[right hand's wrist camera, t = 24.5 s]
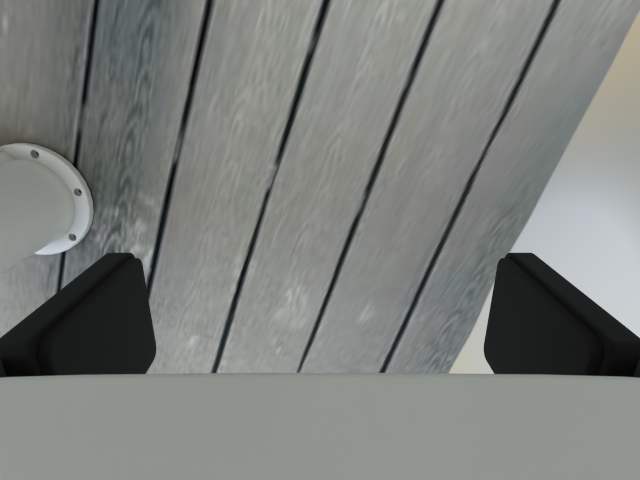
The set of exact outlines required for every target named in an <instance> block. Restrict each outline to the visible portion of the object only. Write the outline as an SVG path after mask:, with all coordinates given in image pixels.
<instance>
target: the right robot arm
mask: <svg viewBox="0 0 640 480" xmlns="http://www.w3.org/2000/svg"><path fill="white" fill-rule="evenodd" d="M38 153H39V154H38ZM80 190H81V191H82V192H81V191H80ZM93 213H94V211H93V201H92V197H91V193H90V190H89V188H88V186H87V184H86V182H85V180H84V179H83V177H82V176H81V174H80V173H79V172H78V170H77V169H76V168H75V167H74V166H73V165H72V164H71V163H70V162H69V161H67V160H66V159H65V158H63V157H62V156H61V155H59V154H57V153H56V152H54V151H52V150H50V149H48V148H45V147H42V146H39V145H35V144H29V143H14V144H8V145H3V146H0V273H2V272H4V271H5V270H7V269H9V268H10V267H12V266H14V265H15V264H17V263H19V262H20V261H22V260H24V259H25V258H27V257H29V256H31V255H32V254H39V255H52V254H57V253H61V252H64V251H66V250H68V249H70V248H72V247H73V246H75V245H76V244H78V243H79V242H80V241H81V240H82V239H83V238H84V237H85V236H86V234H87V233H88V231H89V229H90V226H91V224H92V220H93ZM155 355H156V342H155V336H154V330H153V325H152V319H151V313H150V307H149V301H148V295H147V289H146V283H145V277H144V271H143V265H142V262H141V260H140V259H139V258H135V257H134V255H133V254H132V253H107V254H106V255H104V256H103V257H102V258H100V259H99V260H98V261H97V262H95V263H94V264H93V265H92V266H90V267H89V268H88V269H87V270H85V271H84V272H83V273H82V274H80V275H79V276H78V277H77V278H75V279H74V280H73V281H72V282H70V283H69V284H68V285H67V286H65V287H64V288H63V289H61V290H60V291H59V292H58V293H56V294H55V295H54V296H53V297H51V298H50V299H49V300H48V301H46V302H45V303H44V304H43V305H41V306H40V307H39V308H38V309H36V310H35V311H34V312H33V313H31V314H30V315H29V316H27V317H26V318H25V319H24V320H22V321H21V322H20V323H19V324H17V325H16V326H15V327H14V328H12V329H11V330H10V331H9V332H7V333H6V334H5V335H4V336H2V337H1V338H0V480H640V338H639V337H638V336H636V335H635V334H634V333H633V332H631V331H630V330H629V329H628V328H626V327H625V326H624V325H622V324H621V323H620V322H619V321H618V320H616V319H615V318H614V317H613V316H611V315H610V314H609V313H607V312H606V311H605V310H604V309H602V308H601V307H600V306H599V305H597V304H596V303H595V302H594V301H592V300H591V299H590V298H589V297H587V296H586V295H585V294H584V293H582V292H581V291H580V290H579V289H577V288H576V287H575V286H573V285H572V284H571V283H570V282H568V281H567V280H566V279H565V278H563V277H562V276H561V275H560V274H558V273H557V272H556V271H555V270H553V269H552V268H551V267H550V266H548V265H547V264H546V263H545V262H543V261H542V260H541V259H539V258H538V257H537V256H536V255H534V254H533V253H508V254H507V255H506V257H505V258H501V259H500V260H499V262H498V265H497V271H496V277H495V283H494V289H493V295H492V301H491V307H490V313H489V319H488V325H487V330H486V336H485V342H484V355H485V358H486V360H487V362H488V364H489V365H490V367H491V369H492V370H493V372H494V374H428V373H201V374H146V372H147V370H148V369H149V367H150V365H151V364H152V362H153V360H154V358H155Z"/></svg>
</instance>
